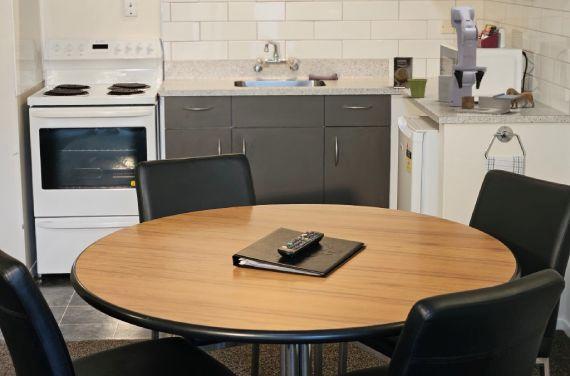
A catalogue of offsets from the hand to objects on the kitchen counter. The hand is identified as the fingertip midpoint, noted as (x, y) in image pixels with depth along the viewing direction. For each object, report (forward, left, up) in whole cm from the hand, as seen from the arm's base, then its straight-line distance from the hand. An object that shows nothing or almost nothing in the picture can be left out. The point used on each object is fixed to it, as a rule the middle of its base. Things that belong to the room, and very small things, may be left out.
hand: (469, 88), depth 407 cm
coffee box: (-68, +70, -10) cm, 98 cm away
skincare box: (-23, +26, -10) cm, 36 cm away
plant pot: (-42, +35, -10) cm, 55 cm away
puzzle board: (+6, 0, -9) cm, 11 cm away
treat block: (0, 0, -8) cm, 8 cm away
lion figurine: (+16, +17, -10) cm, 25 cm away
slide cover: (+17, 0, -3) cm, 17 cm away
